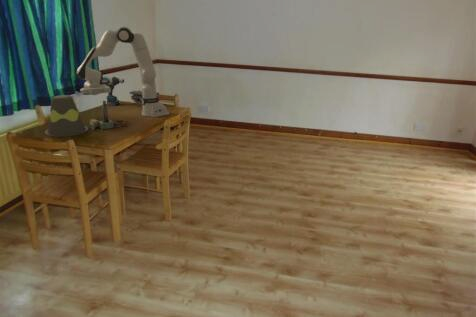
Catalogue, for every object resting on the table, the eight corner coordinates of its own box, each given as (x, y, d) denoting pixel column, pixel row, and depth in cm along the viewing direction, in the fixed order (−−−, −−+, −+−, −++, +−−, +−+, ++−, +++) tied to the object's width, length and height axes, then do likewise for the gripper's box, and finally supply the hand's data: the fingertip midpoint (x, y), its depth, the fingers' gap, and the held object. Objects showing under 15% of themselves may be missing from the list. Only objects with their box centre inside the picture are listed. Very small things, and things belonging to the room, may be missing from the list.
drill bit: (108, 126, 268) (105, 100, 261) (109, 127, 265) (107, 101, 259) (103, 126, 266) (101, 100, 259) (105, 127, 264) (102, 101, 257)
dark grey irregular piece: (159, 104, 339) (159, 92, 335) (156, 106, 332) (155, 94, 328) (134, 102, 343) (133, 90, 339) (130, 104, 336) (129, 92, 332)
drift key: (96, 124, 270) (95, 118, 269) (98, 127, 265) (98, 121, 263) (90, 125, 268) (89, 119, 267) (93, 127, 262) (92, 122, 261)
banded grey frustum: (40, 137, 239) (34, 101, 230) (48, 126, 264) (43, 92, 255) (86, 135, 246) (82, 99, 238) (89, 124, 271) (86, 91, 263)
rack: (123, 123, 276) (123, 119, 275) (127, 125, 270) (126, 122, 269) (112, 124, 272) (112, 120, 271) (116, 127, 266) (115, 123, 265)
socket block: (110, 125, 271) (110, 119, 269) (113, 127, 265) (113, 122, 263) (89, 127, 263) (89, 122, 261) (92, 130, 257) (92, 124, 256)
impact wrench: (123, 106, 326) (121, 78, 317) (100, 104, 330) (97, 76, 321) (128, 104, 333) (125, 76, 324) (105, 102, 337) (102, 75, 328)
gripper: (78, 85, 271) (83, 88, 260) (107, 83, 282) (112, 86, 271) (79, 94, 273) (84, 97, 262) (107, 92, 284) (113, 95, 273)
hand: (98, 92), depth 267 cm, fingers open, 8 cm apart
